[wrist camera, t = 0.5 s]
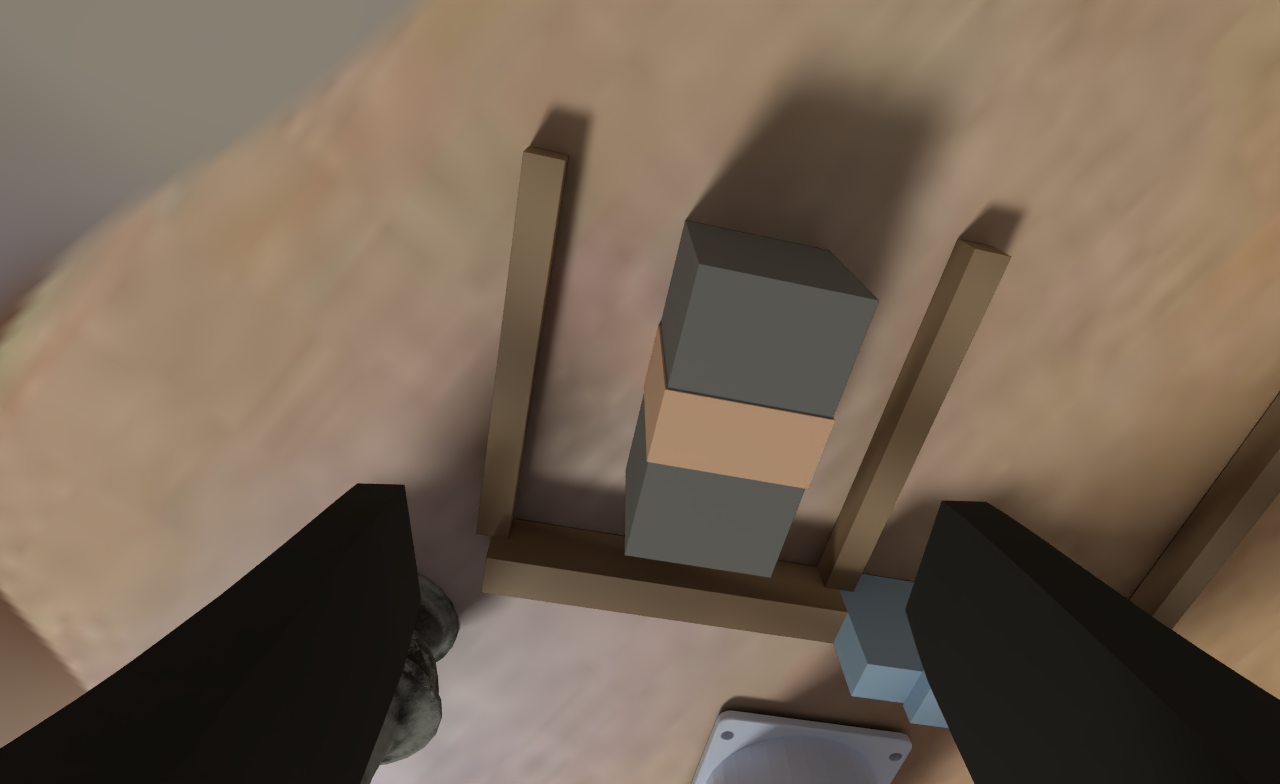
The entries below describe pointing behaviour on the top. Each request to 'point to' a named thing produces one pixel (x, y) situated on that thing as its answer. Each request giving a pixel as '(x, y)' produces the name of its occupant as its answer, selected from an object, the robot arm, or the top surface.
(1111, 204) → the top surface
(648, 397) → the grey and tan block
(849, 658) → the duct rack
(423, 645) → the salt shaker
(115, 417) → the top surface
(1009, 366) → the top surface
